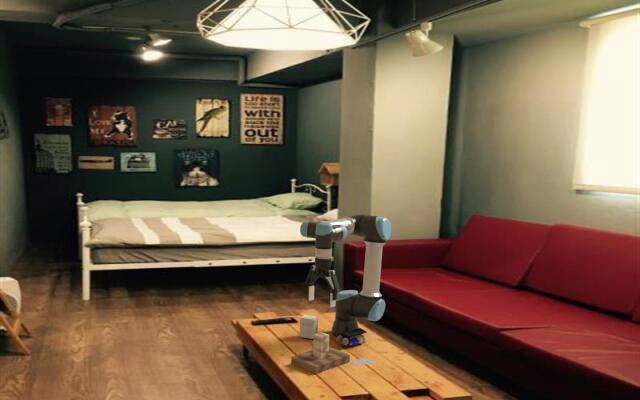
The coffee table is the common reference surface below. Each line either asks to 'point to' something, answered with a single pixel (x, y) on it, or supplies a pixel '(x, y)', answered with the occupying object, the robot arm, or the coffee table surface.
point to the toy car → (346, 336)
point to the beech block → (321, 346)
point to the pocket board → (320, 361)
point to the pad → (362, 361)
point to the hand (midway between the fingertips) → (321, 303)
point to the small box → (308, 326)
